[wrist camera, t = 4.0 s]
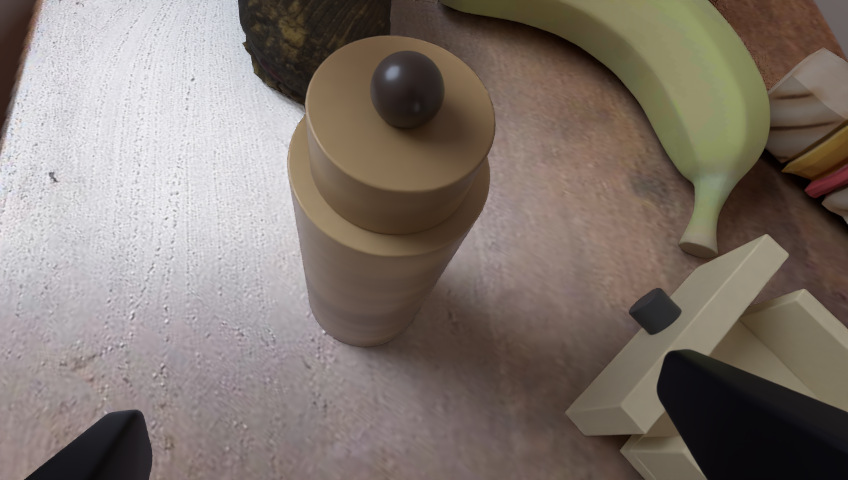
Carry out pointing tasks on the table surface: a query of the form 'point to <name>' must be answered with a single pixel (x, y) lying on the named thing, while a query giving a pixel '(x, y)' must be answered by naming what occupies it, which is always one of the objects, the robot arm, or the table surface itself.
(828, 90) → the skewer
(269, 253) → the table surface
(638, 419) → the drawer
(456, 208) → the pepper mill
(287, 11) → the seashell
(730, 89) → the banana
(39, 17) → the table surface
